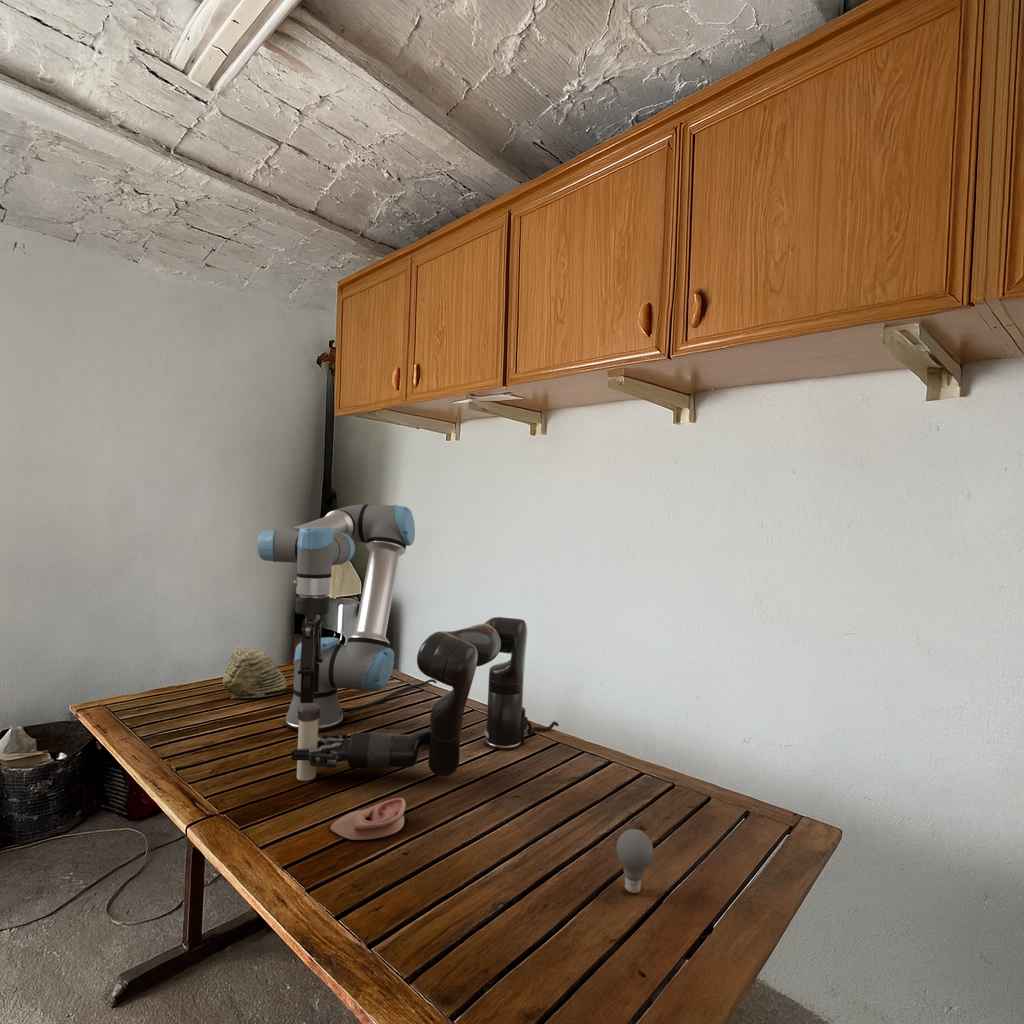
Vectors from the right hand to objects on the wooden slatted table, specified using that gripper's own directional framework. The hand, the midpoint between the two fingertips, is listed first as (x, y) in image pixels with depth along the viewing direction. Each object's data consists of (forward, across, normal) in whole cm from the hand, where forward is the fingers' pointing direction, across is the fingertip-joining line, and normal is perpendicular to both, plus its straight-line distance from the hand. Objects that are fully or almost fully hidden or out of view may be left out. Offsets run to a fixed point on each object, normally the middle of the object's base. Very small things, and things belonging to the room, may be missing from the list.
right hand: (296, 749), depth 143 cm
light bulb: (-66, +42, +6) cm, 79 cm away
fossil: (+28, -58, +6) cm, 64 cm away
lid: (-3, 0, -9) cm, 10 cm away
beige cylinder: (-3, 0, +6) cm, 7 cm away
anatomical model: (-20, +22, +6) cm, 30 cm away
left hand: (-3, 0, -12) cm, 12 cm away
